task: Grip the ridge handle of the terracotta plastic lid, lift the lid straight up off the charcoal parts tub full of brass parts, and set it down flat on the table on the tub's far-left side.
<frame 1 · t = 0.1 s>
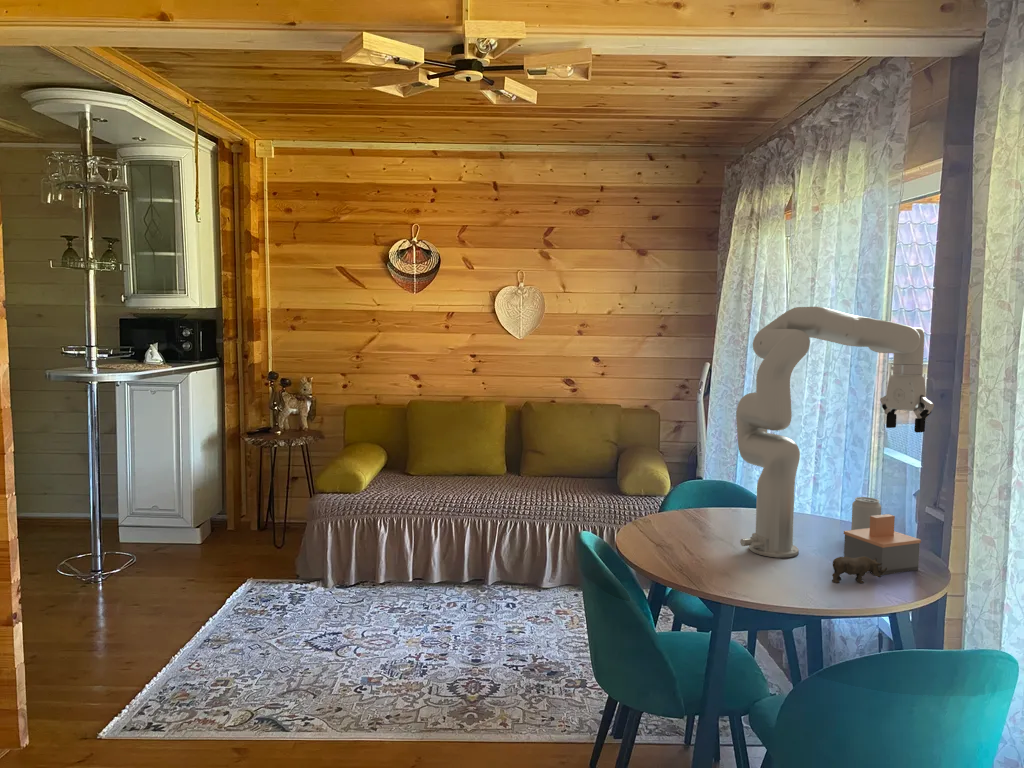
hand: (904, 429, 210), 31 cm above the table, fingers open, 9 cm apart
tub: (880, 565, 186), on the table
lid: (881, 542, 185), point 6 cm above the table, touching tub
can: (865, 540, 208), on the table
rhino figurine: (858, 581, 174), on the table
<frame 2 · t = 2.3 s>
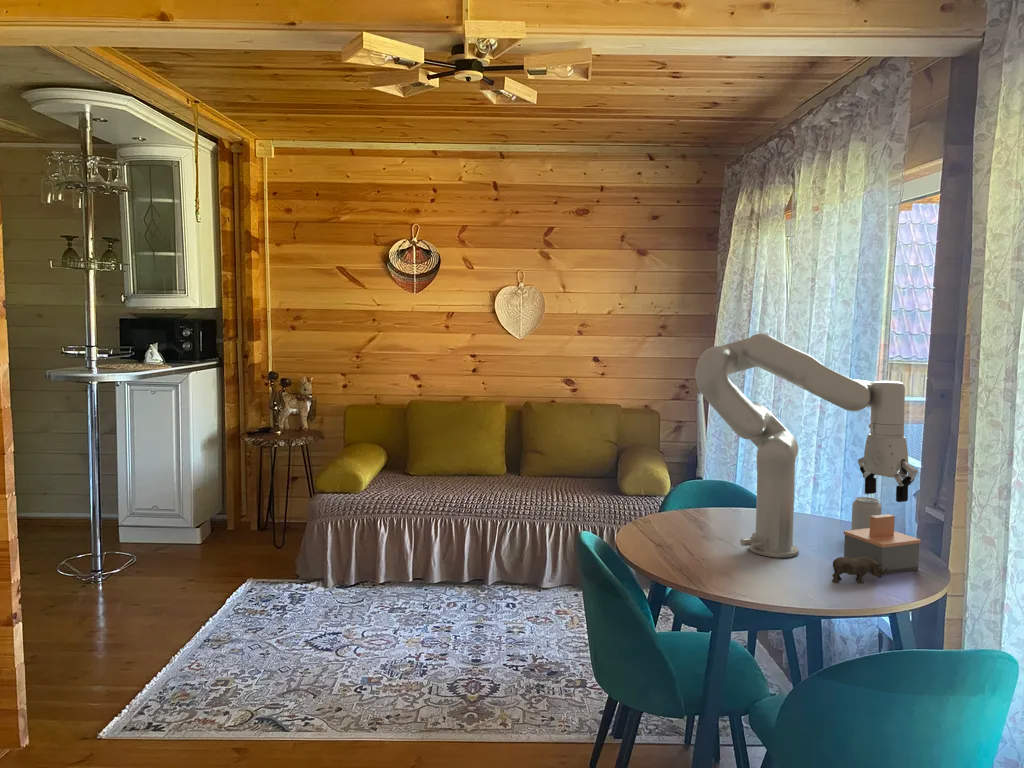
hand: (885, 497, 184), 18 cm above the table, fingers open, 9 cm apart
nothing on the table moved.
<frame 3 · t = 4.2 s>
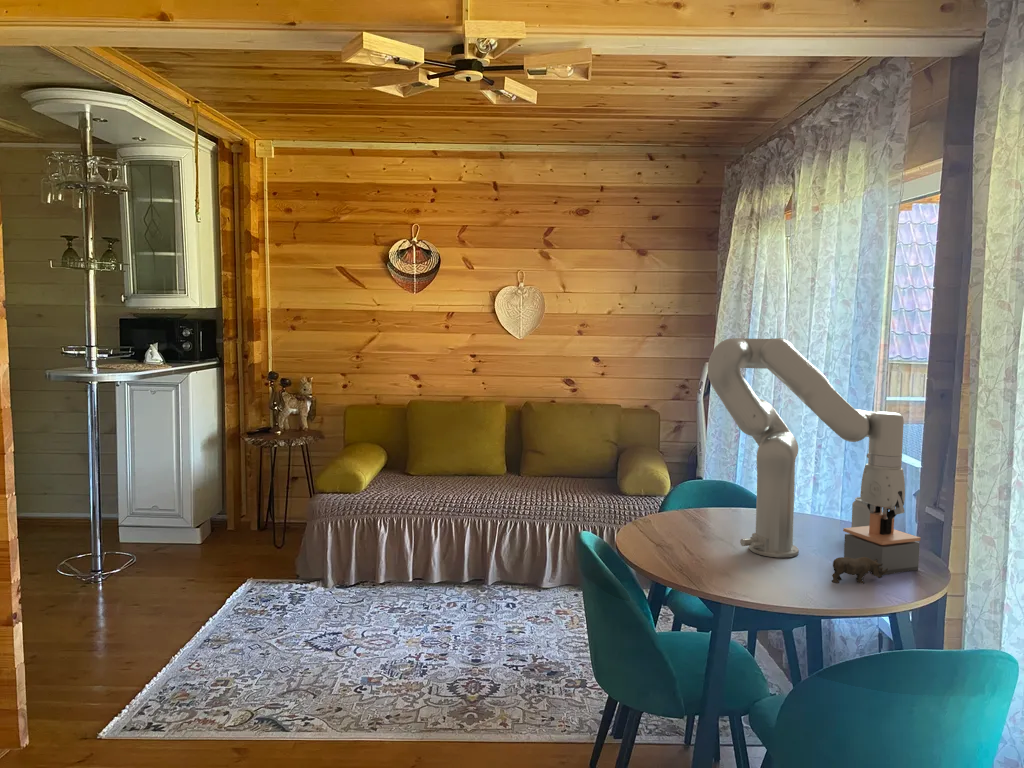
hand: (881, 532, 185), 9 cm above the table, fingers closed on lid
lid: (880, 539, 185), point 7 cm above the table, touching gripper
everything else where it was.
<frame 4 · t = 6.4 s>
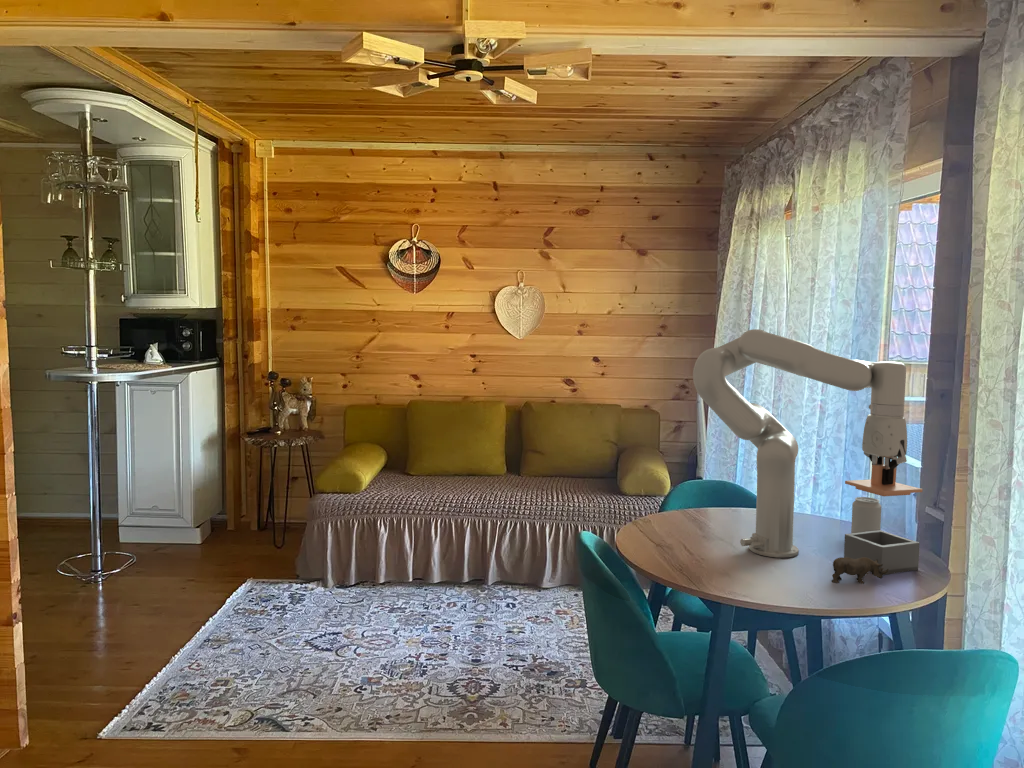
hand: (883, 482, 184), 21 cm above the table, fingers closed on lid
lid: (882, 491, 184), point 19 cm above the table, touching gripper
everything else where it was.
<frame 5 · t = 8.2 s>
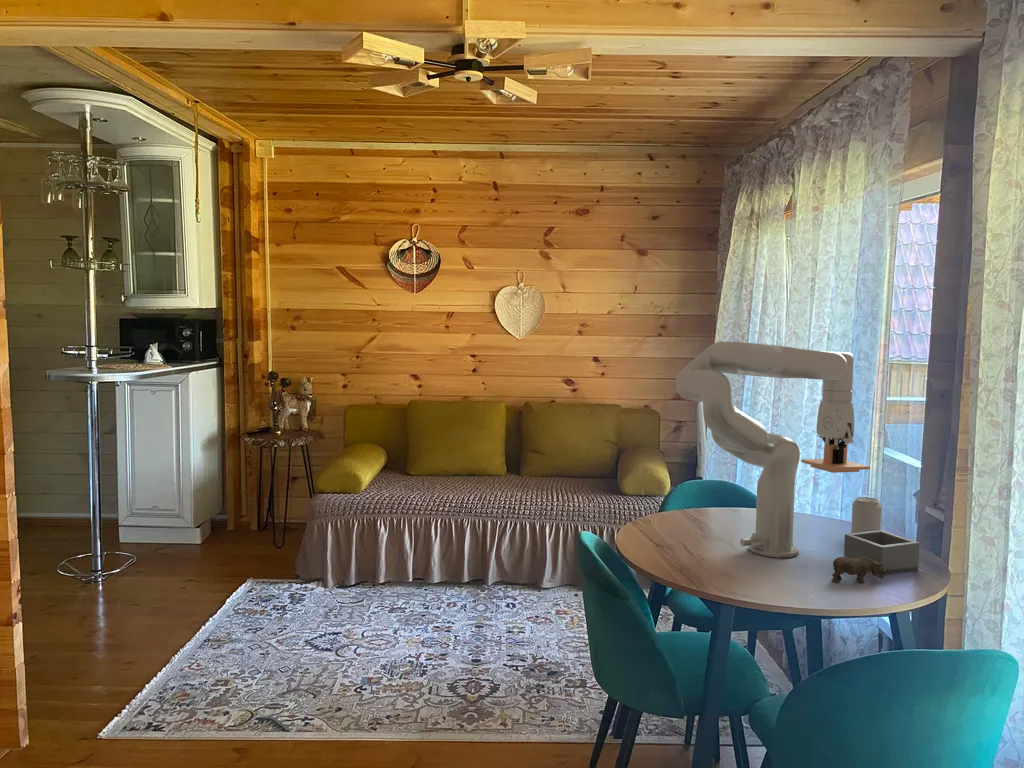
hand: (834, 462, 202), 23 cm above the table, fingers closed on lid
lid: (834, 469, 203), point 21 cm above the table, touching gripper
everything else where it was.
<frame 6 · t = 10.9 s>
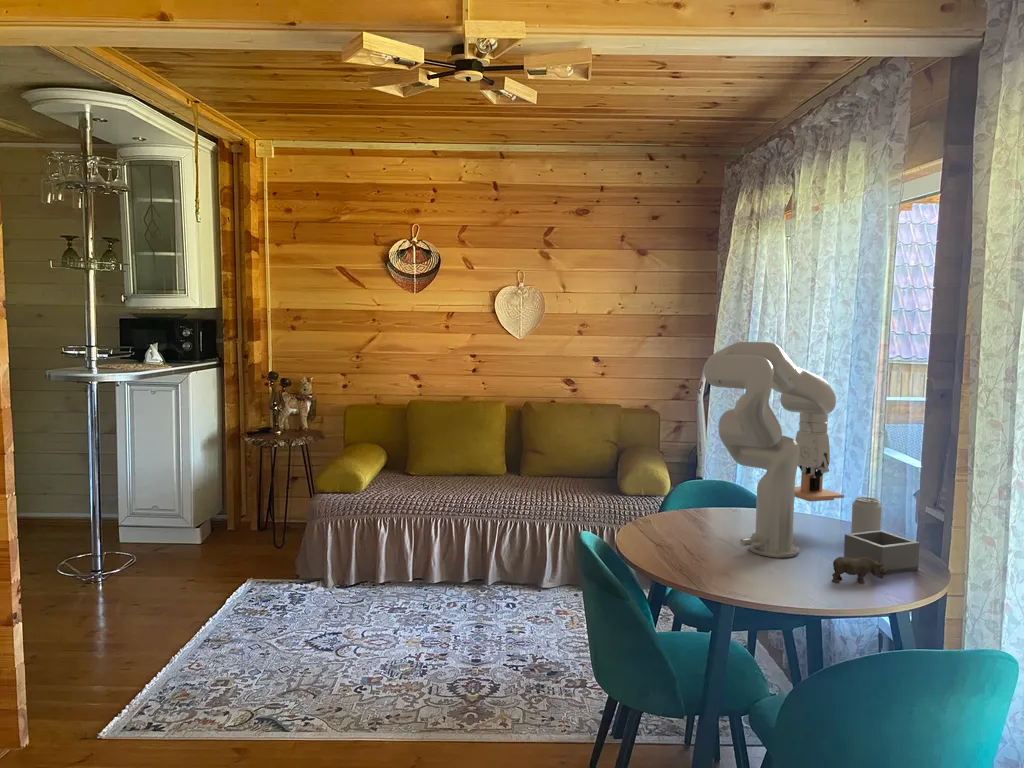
hand: (811, 489, 213), 13 cm above the table, fingers closed on lid
lid: (810, 497, 213), point 11 cm above the table, touching gripper
everything else where it was.
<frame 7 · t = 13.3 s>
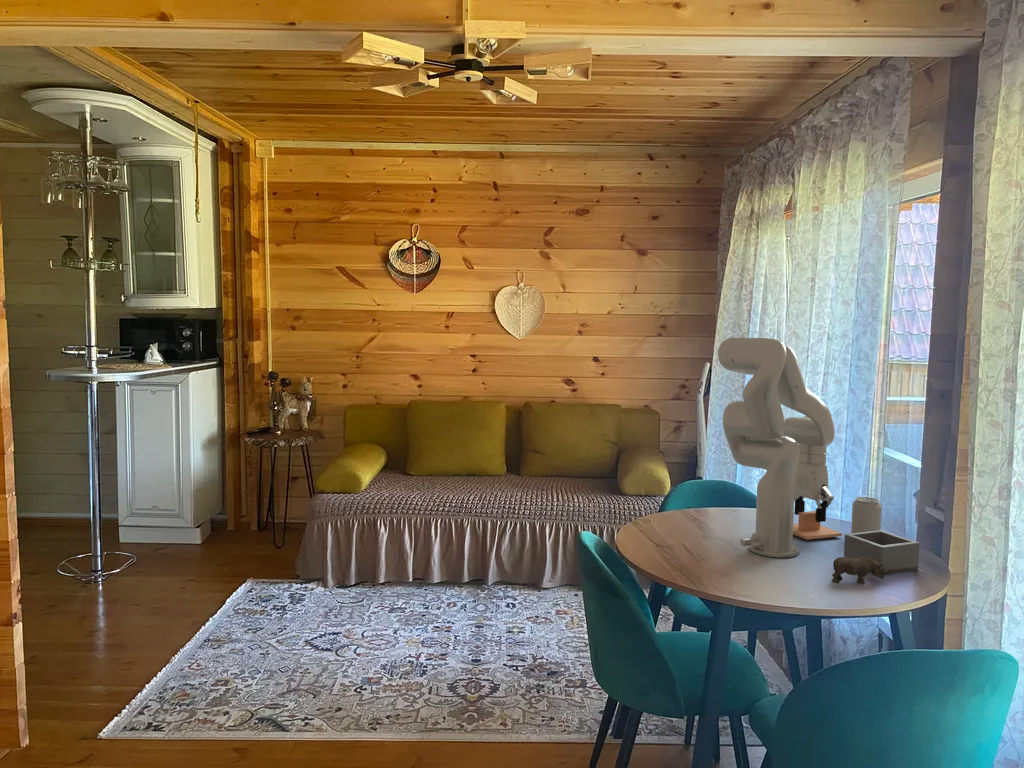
hand: (809, 517, 213), 5 cm above the table, fingers open, 8 cm apart
lid: (808, 535, 213), on the table
everything else where it was.
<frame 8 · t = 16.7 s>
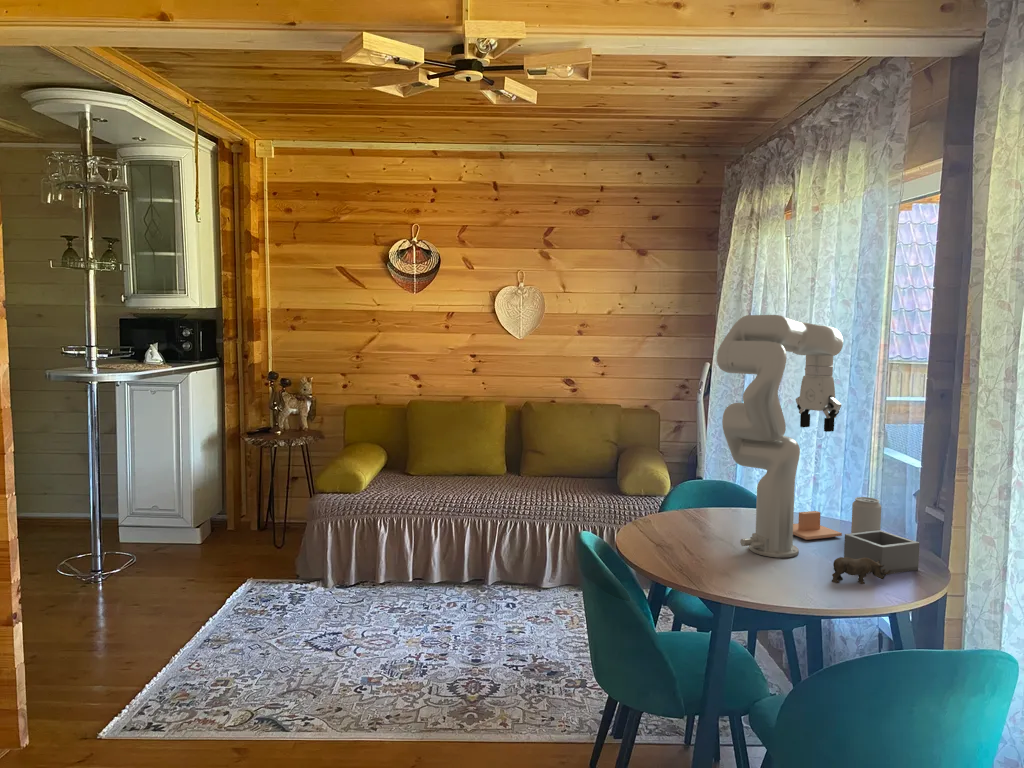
hand: (816, 429, 217), 30 cm above the table, fingers open, 9 cm apart
nothing on the table moved.
at the end: lid inside the target area (0.1 cm from its centre), on the table; lid tilted 0°; the gripper is holding nothing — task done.
